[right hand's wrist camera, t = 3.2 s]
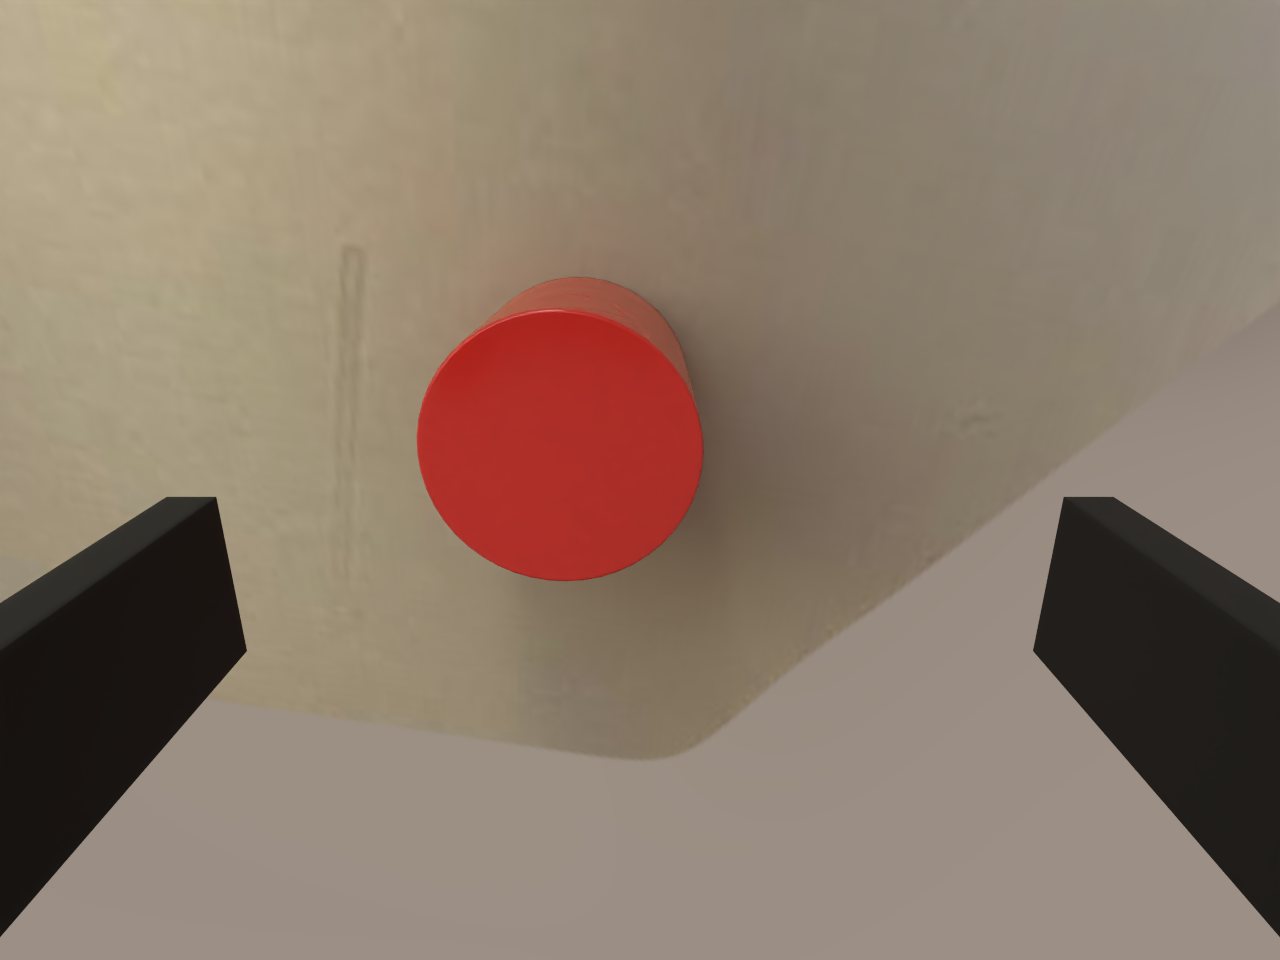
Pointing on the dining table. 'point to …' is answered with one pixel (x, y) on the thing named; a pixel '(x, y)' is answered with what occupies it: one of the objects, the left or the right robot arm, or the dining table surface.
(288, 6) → the dining table surface
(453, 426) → the red cylinder
